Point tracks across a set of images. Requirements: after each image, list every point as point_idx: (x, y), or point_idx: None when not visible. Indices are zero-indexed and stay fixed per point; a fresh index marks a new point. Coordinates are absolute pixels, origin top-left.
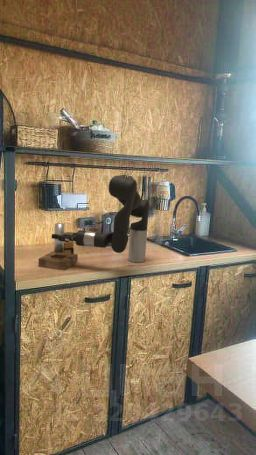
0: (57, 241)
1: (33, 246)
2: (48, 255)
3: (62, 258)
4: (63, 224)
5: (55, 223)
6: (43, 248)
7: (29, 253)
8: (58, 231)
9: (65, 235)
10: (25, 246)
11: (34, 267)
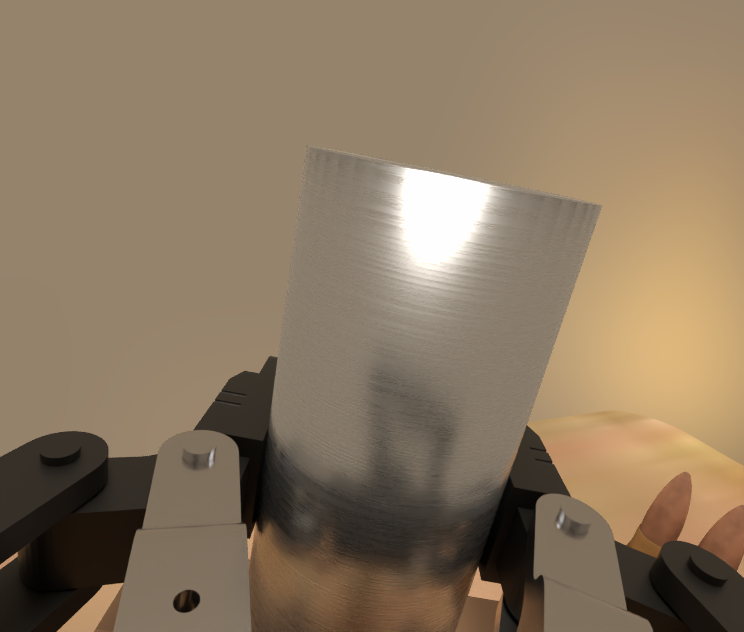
0: (251, 554)
1: (675, 460)
2: None
3: None
4: (426, 176)
5: (431, 168)
6: (707, 517)
7: None
8: (280, 351)
9: (128, 616)
10: (630, 430)
11: (119, 583)
